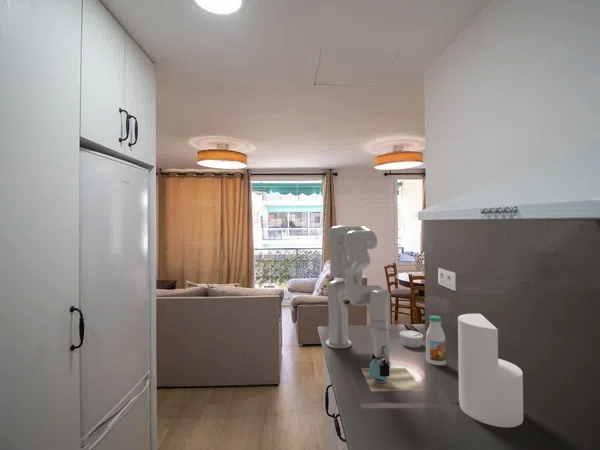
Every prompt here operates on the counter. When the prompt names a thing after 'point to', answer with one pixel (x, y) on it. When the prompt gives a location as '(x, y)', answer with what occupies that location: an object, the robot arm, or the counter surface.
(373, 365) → the teal knob cube
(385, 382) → the stud
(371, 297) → the robot arm
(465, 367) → the white stepped round block
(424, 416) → the counter surface
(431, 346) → the milk bottle
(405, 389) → the board
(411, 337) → the ramekin
